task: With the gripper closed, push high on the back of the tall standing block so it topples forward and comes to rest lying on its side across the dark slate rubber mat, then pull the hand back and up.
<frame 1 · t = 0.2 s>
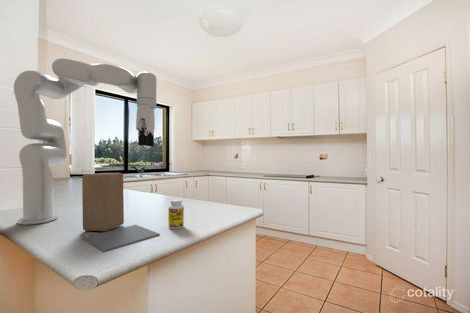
hand: (146, 145, 97), 31 cm above the counter, tool pointing down, fingers open, 9 cm apart
supplement bottle: (176, 227, 89), on the counter
block: (104, 228, 88), on the counter, touching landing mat
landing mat: (122, 236, 79), on the counter
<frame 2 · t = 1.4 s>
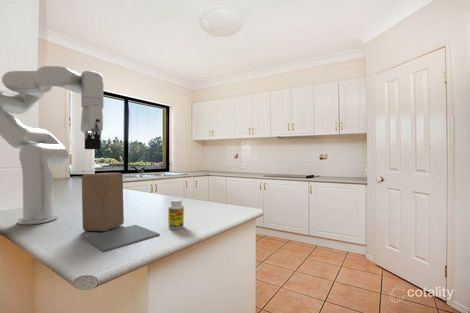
hand: (92, 148, 94), 30 cm above the counter, tool pointing down, fingers open, 5 cm apart
nothing on the counter moved.
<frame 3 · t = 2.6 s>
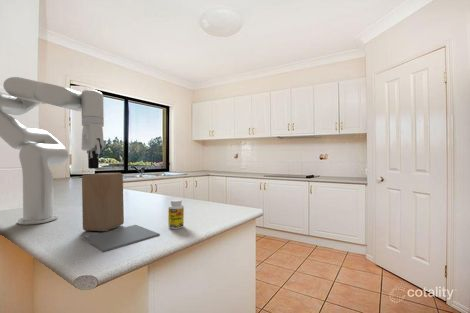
hand: (93, 168, 94), 22 cm above the counter, tool pointing down, fingers closed
nothing on the counter moved.
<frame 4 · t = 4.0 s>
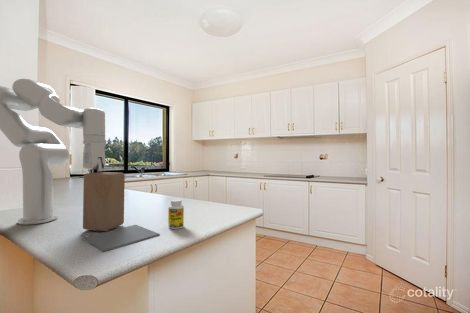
hand: (95, 186, 93), 15 cm above the counter, tool pointing down, fingers closed
block: (104, 227, 88), on the counter, touching gripper, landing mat
everything else where it was.
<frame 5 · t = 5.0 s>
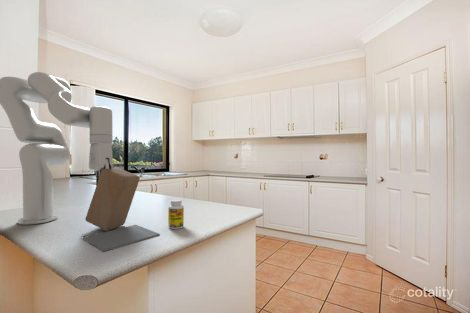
hand: (101, 188, 89), 14 cm above the counter, tool pointing down, fingers closed
block: (104, 223, 88), point 2 cm above the counter, touching gripper, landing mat
everything else where it was.
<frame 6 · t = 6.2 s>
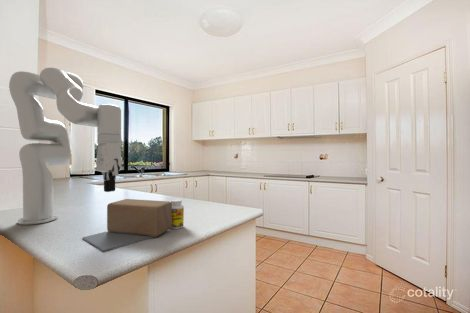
hand: (109, 191, 85), 14 cm above the counter, tool pointing down, fingers closed
block: (115, 214, 86), point 5 cm above the counter, touching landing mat
everything else where it was.
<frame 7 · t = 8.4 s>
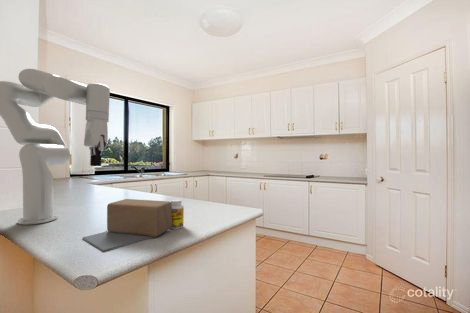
hand: (95, 165, 90), 23 cm above the counter, tool pointing down, fingers closed
nothing on the counter moved.
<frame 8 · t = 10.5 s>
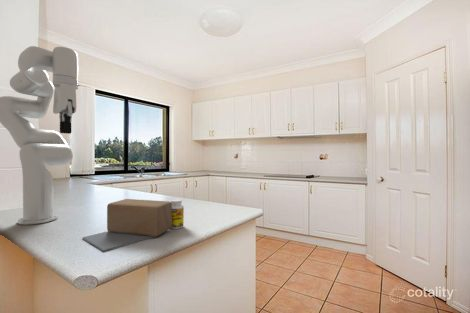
hand: (65, 133, 87), 35 cm above the counter, tool pointing down, fingers closed
nothing on the counter moved.
at the end: block tilted 90°; block inside the target area (3.9 cm from its centre), point 5.5 cm above the counter; supplement bottle moved 0.2 cm from its start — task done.
